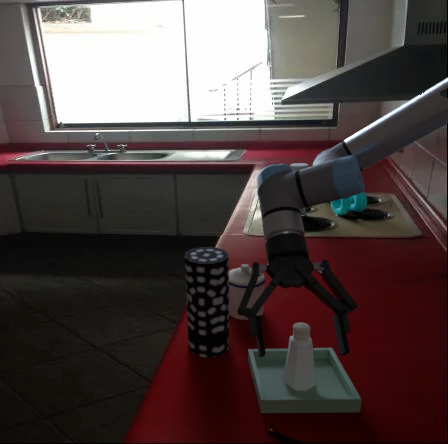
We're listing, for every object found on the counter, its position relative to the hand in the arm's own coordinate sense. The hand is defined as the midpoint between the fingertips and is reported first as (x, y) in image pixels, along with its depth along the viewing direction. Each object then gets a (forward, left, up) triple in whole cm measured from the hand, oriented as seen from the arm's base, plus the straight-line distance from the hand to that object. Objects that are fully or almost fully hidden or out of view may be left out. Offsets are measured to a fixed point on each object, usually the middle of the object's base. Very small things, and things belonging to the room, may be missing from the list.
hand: (303, 355), depth 70 cm
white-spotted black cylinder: (+15, -13, -7) cm, 21 cm away
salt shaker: (0, -1, -6) cm, 7 cm away
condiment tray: (0, -1, -7) cm, 7 cm away
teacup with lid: (+7, -27, -7) cm, 29 cm away
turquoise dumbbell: (-44, -98, -7) cm, 108 cm away
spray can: (-25, -99, -7) cm, 103 cm away
